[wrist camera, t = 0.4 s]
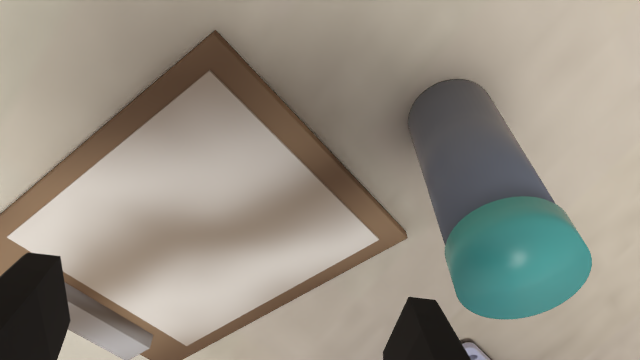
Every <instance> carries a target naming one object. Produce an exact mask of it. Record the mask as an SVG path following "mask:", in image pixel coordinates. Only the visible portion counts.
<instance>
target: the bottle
mask: <svg viewBox="0 0 640 360" xmlns="http://www.w3.org/2000/svg"><path fill="white" fill-rule="evenodd" d="M408 127H409V131H410V134H411V137H412V141H413V144H414V147H415V150H416V154H417V157H418V160H419V163H420V166H421V170H422V173H423V176H424V179H425V182H426V186H427V189H428V192H429V195H430V198H431V202H432V205H433V208H434V211H435V214H436V218H437V221H438V224H439V227H440V231H441V234H442V237H443V240H444V243H445V258H446V262H447V265H448V269H449V272H450V275H451V278H452V282H453V285H454V288H455V292H456V295H457V297H458V299H459V301H460V302H461V303H462V305H463V306H464V307H466V308H467V309H468V310H470V311H471V312H473V313H475V314H477V315H480V316H483V317H487V318H493V319H518V318H525V317H529V316H533V315H537V314H540V313H543V312H545V311H548V310H550V309H552V308H554V307H556V306H558V305H560V304H562V303H563V302H565V301H566V300H568V299H569V298H570V297H572V296H573V295H574V294H575V293H576V292H577V291H578V290H579V289H580V288H581V287H582V285H583V284H584V283H585V281H586V280H587V278H588V276H589V273H590V271H591V266H592V258H591V254H590V251H589V249H588V247H587V246H586V244H585V243H584V241H583V239H582V238H581V236H580V235H579V233H578V231H577V230H576V228H575V227H574V225H573V223H572V222H571V220H570V219H569V217H568V216H567V214H566V213H565V212H564V210H563V209H561V208H560V207H559V206H558V205H556V204H555V202H554V201H553V199H552V197H551V196H550V194H549V192H548V191H547V189H546V188H545V186H544V184H543V183H542V181H541V179H540V178H539V176H538V175H537V173H536V171H535V170H534V168H533V166H532V165H531V163H530V162H529V160H528V158H527V157H526V155H525V153H524V152H523V150H522V148H521V147H520V145H519V144H518V142H517V140H516V139H515V137H514V135H513V134H512V132H511V131H510V129H509V127H508V126H507V124H506V122H505V121H504V119H503V118H502V116H501V114H500V113H499V111H498V109H497V108H496V106H495V105H494V103H493V101H492V100H491V98H490V96H489V95H488V93H487V92H486V91H485V90H484V89H483V88H482V87H481V86H479V85H478V84H476V83H474V82H471V81H467V80H459V79H455V80H448V81H443V82H440V83H438V84H435V85H433V86H432V87H430V88H428V89H427V90H426V91H424V92H423V93H422V94H421V95H420V96H419V97H418V98H417V99H416V101H415V102H414V104H413V106H412V108H411V110H410V113H409V117H408Z"/></svg>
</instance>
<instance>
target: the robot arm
mask: <svg viewBox="0 0 640 360" xmlns="http://www.w3.org/2000/svg"><path fill="white" fill-rule="evenodd" d="M70 321H71V320H70V314H69V307H68V301H67V295H66V288H65V282H64V276H63V270H62V263H61V257H60V256H55V255H46V254H38V253H29V252H28V253H26V254H25V255H23V256H22V257H21V258H20V259H19V260H17V261H16V262H15V263H14V264H13V265H12V266H11V267H10V268H9V269H8V270H6V271H5V272H4V273H3V274H2V275H1V276H0V360H57V358H58V355H59V353H60V350H61V347H62V344H63V341H64V338H65V335H66V332H67V329H68V327H69V324H70ZM383 360H491V359H489V358H488V357H487V356H486V355H485V354H484V353H483V352H482V351H481V350H480V349H479V348H478V347H477V346H476V345H475V344H474V343H470V342H466V343H463V344H461V342H460V340H459V338H458V337H457V335H456V333H455V332H454V330H453V328H452V327H451V325H450V323H449V322H448V320H447V318H446V316H445V315H444V313H443V311H442V310H441V308H440V306H439V305H438V303H437V302H436V300H430V299H422V298H413V297H408V300H407V302H406V304H405V306H404V308H403V310H402V312H401V315H400V317H399V319H398V321H397V323H396V325H395V327H394V330H393V332H392V334H391V336H390V338H389V340H388V342H387V345H386V347H385V349H384V351H383Z"/></svg>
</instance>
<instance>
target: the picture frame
mask: <svg viewBox="0 0 640 360" xmlns="http://www.w3.org/2000/svg"><path fill="white" fill-rule="evenodd" d="M405 239H407V234H406V231H405V230H404V229H403V228H402V227H401V226H400V225H399V224H398V223H397V222H396V221H395V220H394V219H393V218H392V217H391V216H390V214H389V213H388V212H387V211H386V210H385V209H384V208H383V207H382V206H381V205H380V204H379V203H378V202H377V201H376V200H375V199H374V198H373V196H372V195H371V194H370V193H369V192H368V191H367V190H366V189H365V188H364V187H363V186H362V185H361V184H360V183H359V182H358V181H357V180H356V178H355V177H354V176H353V175H352V174H351V173H350V172H349V171H348V170H347V169H346V168H345V167H344V166H343V165H342V164H341V163H340V162H339V160H338V159H337V158H336V157H335V156H334V155H333V154H332V153H331V152H330V151H329V150H328V149H327V148H326V147H325V146H324V145H323V144H322V142H321V141H320V140H319V139H318V138H317V137H316V136H315V135H314V134H313V133H312V132H311V131H310V130H309V129H308V128H307V127H306V125H305V124H304V123H303V122H302V121H301V120H300V119H299V118H298V117H297V116H296V115H295V114H294V113H293V112H292V111H291V110H290V109H289V107H288V106H287V105H286V104H285V103H284V102H283V101H282V100H281V99H280V98H279V97H278V96H277V95H276V94H275V93H274V92H273V91H272V89H271V88H270V87H269V86H268V85H267V84H266V83H265V82H264V81H263V80H262V79H261V78H260V77H259V76H258V75H257V74H256V73H255V71H254V70H253V69H252V68H251V67H250V66H249V65H248V64H247V63H246V62H245V61H244V60H243V59H242V58H241V57H240V56H239V55H238V53H237V52H236V51H235V50H234V49H233V48H232V47H231V46H230V45H229V44H228V43H227V42H226V41H225V40H224V39H223V38H222V37H221V35H220V34H219V33H218V32H217V31H216V30H215V31H214V32H213V33H211V34H210V35H209V36H208V37H207V38H206V39H204V40H203V41H202V42H201V43H200V44H199V45H197V46H196V47H195V48H194V49H193V50H192V51H190V52H189V53H188V54H187V55H186V56H185V57H183V58H182V59H181V60H180V61H179V62H178V63H176V64H175V65H174V66H173V67H172V68H171V69H169V70H168V71H167V72H166V73H165V74H164V75H162V76H161V77H160V78H159V79H158V80H157V81H155V82H154V83H153V84H152V85H151V86H150V87H148V88H147V89H146V90H145V91H144V92H143V93H141V94H140V95H139V96H138V97H137V98H136V99H134V100H133V101H132V102H131V103H130V104H129V105H127V106H126V107H125V108H124V109H123V110H122V111H120V112H119V113H118V114H117V115H116V116H115V117H113V118H112V119H111V120H110V121H109V122H108V123H106V124H105V125H104V126H103V127H102V128H101V129H99V130H98V131H97V132H96V133H95V134H94V135H92V136H91V137H90V138H89V139H88V140H87V141H85V142H84V143H83V144H82V145H81V146H80V147H78V148H77V149H76V150H75V151H74V152H72V153H71V154H70V155H69V156H68V157H67V158H65V159H64V160H63V161H62V162H61V163H60V164H58V165H57V166H56V167H55V168H54V169H53V170H51V171H50V172H49V173H48V174H47V175H46V176H44V177H43V178H42V179H41V180H40V181H39V182H37V183H36V184H35V185H34V186H33V187H32V188H30V189H29V190H28V191H27V192H26V193H25V194H23V195H22V196H21V197H20V198H19V199H18V200H16V201H15V202H14V203H13V204H12V205H11V206H9V207H8V208H7V209H6V210H5V211H4V212H2V213H1V214H0V276H1V275H2V274H3V273H4V272H5V271H6V270H8V269H9V268H10V267H11V266H12V265H13V264H14V263H15V262H16V261H17V260H19V259H20V258H21V257H22V256H23V255H25V254H26V253H28V252H29V253H38V254H46V255H55V256H60V257H61V263H62V270H63V276H64V282H65V288H66V295H67V301H68V307H69V314H70V320H71V321H70V324H69V327H68V330H70V331H72V332H74V333H76V334H77V335H79V336H81V337H83V338H85V339H87V340H89V341H90V342H92V343H94V344H96V345H98V346H100V347H101V348H103V349H105V350H107V351H109V352H111V353H113V354H114V355H116V356H118V357H120V358H122V359H124V360H130V359H132V358H134V357H135V356H137V355H139V354H140V355H142V356H144V357H146V358H148V359H149V360H183V359H184V358H186V357H188V356H190V355H192V354H194V353H196V352H197V351H199V350H201V349H203V348H205V347H207V346H209V345H210V344H212V343H214V342H216V341H218V340H220V339H221V338H223V337H225V336H227V335H229V334H231V333H233V332H234V331H236V330H238V329H240V328H242V327H244V326H246V325H247V324H249V323H251V322H253V321H255V320H257V319H259V318H260V317H262V316H264V315H266V314H268V313H270V312H271V311H273V310H275V309H277V308H279V307H281V306H283V305H284V304H286V303H288V302H290V301H292V300H294V299H296V298H297V297H299V296H301V295H303V294H305V293H307V292H308V291H310V290H312V289H314V288H316V287H318V286H320V285H321V284H323V283H325V282H327V281H329V280H331V279H333V278H334V277H336V276H338V275H340V274H342V273H344V272H346V271H347V270H349V269H351V268H353V267H355V266H357V265H358V264H360V263H362V262H364V261H366V260H368V259H370V258H371V257H373V256H375V255H377V254H379V253H381V252H383V251H384V250H386V249H388V248H390V247H392V246H394V245H395V244H397V243H399V242H401V241H403V240H405Z"/></svg>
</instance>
